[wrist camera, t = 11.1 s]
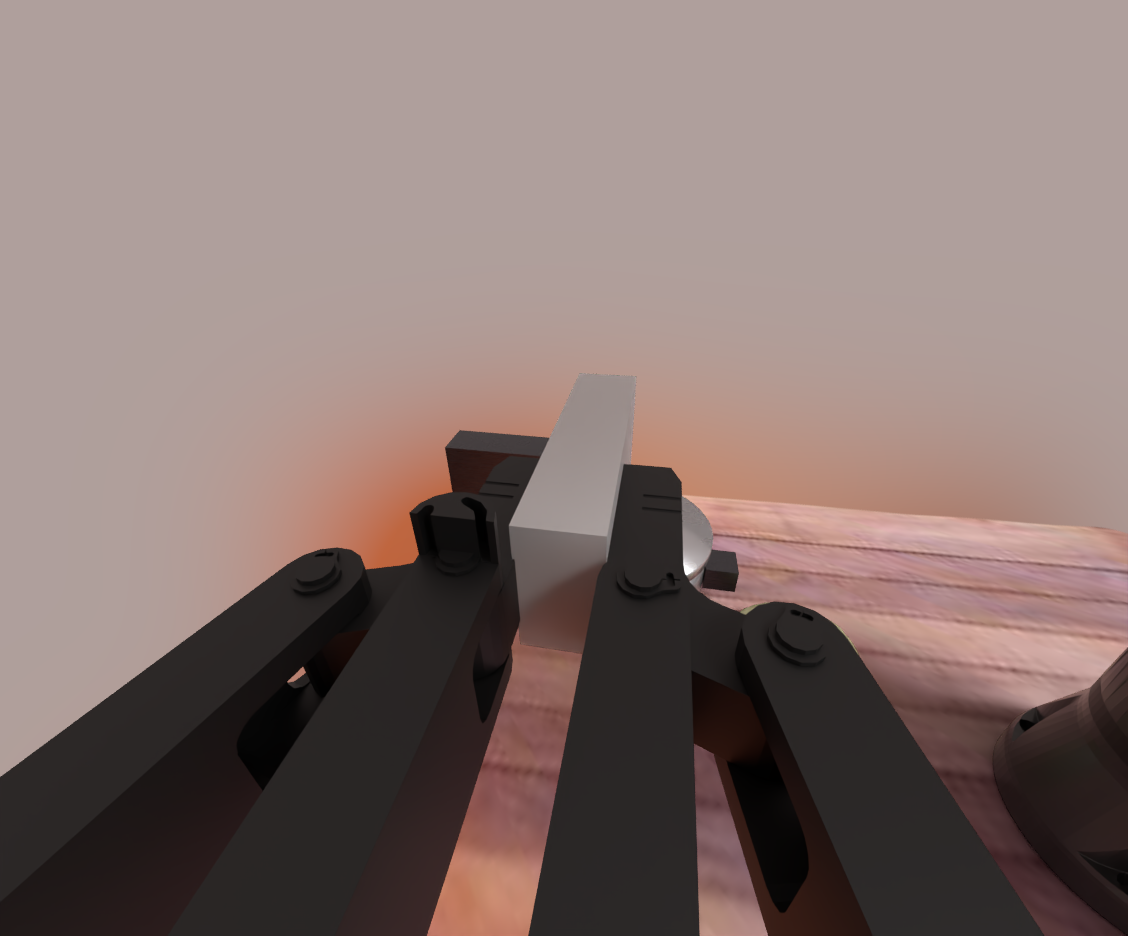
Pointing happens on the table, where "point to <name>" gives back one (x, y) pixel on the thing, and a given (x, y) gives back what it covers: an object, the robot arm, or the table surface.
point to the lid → (483, 451)
